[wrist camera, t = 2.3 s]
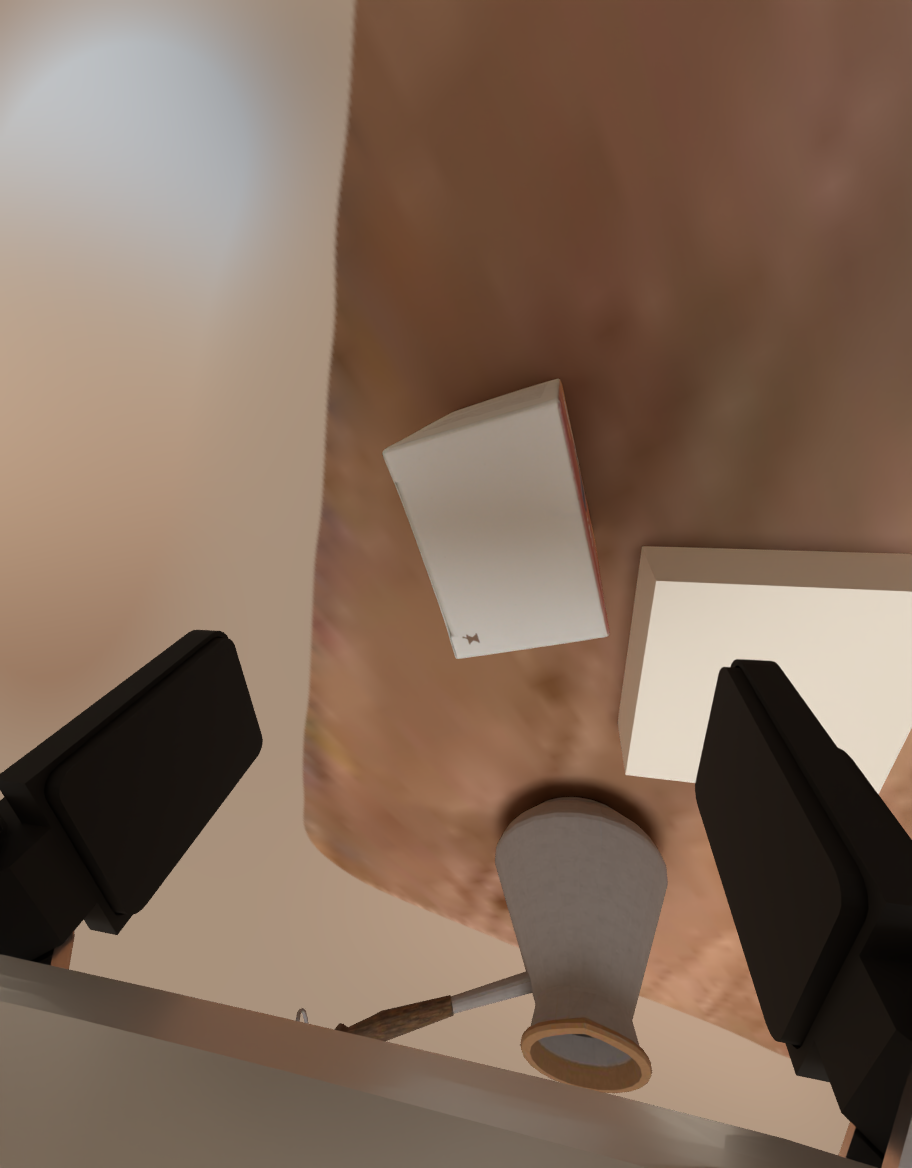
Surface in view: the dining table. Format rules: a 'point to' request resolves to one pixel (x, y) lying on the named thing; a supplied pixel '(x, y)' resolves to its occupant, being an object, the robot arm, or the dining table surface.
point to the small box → (504, 523)
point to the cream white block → (768, 648)
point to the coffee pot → (568, 944)
